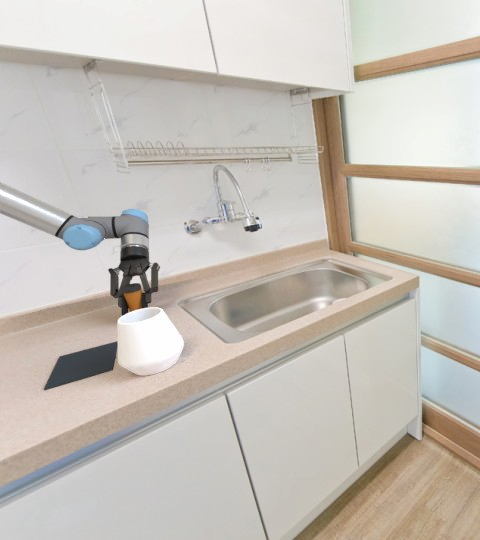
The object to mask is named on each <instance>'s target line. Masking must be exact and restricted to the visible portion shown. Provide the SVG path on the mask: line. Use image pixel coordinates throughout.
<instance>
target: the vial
mask: <svg viewBox="0 0 480 540" xmlns="http://www.w3.org/2000/svg"><path fill="white" fill-rule="evenodd" d="M121 290H122V293H124V296H125V299H126V302H127V305H128V311H129V312H132V311H135V310H139V309H142V293H143V290H142V284H141V283H140V282H134V283H130V284H128V285H125V286H123V287H121Z"/></svg>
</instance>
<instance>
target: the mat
mask: <svg viewBox="0 0 480 540" xmlns="http://www.w3.org/2000/svg"><path fill="white" fill-rule="evenodd" d="M117 351H118V340H117V341H113V342H108V343H104V344H102V345H98V346H97V345H96V346H93V347H90V348H86V349H82V350H79V351H75V352H71V353H67V354H64V355H60V356H58V358H57V361H56V363H55V365H54V366H53V369H52V371H51V373H50V375H49V378H48V379H47V381H46V383H45V385H44V388H43V390H44V391H47V390H50V389H54V388H57V387H60V386H64V385H67V384H71V383H73V382H77V381H82V380H84V379H87V378H90V377H93V376H97V375H101V374H105V373H108V372H111V371H113V370H114V365H115V360H116V356H117Z"/></svg>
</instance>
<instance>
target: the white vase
mask: <svg viewBox="0 0 480 540" xmlns="http://www.w3.org/2000/svg"><path fill="white" fill-rule="evenodd" d="M116 324H117V325H116V326H117V327H116V328H117V329H116V330H117V332H116V333H117V341H118V345H117V363H118V364H119V366H120V367H122V368H124V369H125V370H127V371H129V372H131V373H133V374H135V375H137V376H139V377H140V376H141V377H143V376H144V377H146V376H151V375H153V376H154V375H156V374H159V373H162V372H164V371H166V370H168V369H170V368H172V367H174V365H175V364H177V362H178V361H179V359H180V357H181V354H182V352H183V349H184V347H185V341H184V338H183V335H182V334H180V332H179V330H178V329H177V328H176V326H175V325H174V323H173V322H172V321H171V319H170V318H169V316H168V315H167V313H166V312H165V310H164V309H163V308H161V307H157V306H150V307H148V308H143V309H139V310H135V311H132V312H130V311H128V313H127V314H125V315H123V316H122V315H121V316H120V317H119V318H118V319H117V323H116Z"/></svg>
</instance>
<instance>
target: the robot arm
mask: <svg viewBox="0 0 480 540" xmlns="http://www.w3.org/2000/svg"><path fill="white" fill-rule="evenodd" d="M121 213H122V214H121ZM121 213H120V215H116V216H88V218H78V217H79V216H75V215H73V214H71V213H69V212H67V211H65V210H62V209H60V208H58V207H56V206H53V204H52V205H51V204H50V203H48V202H45V201H43V200H41V199H39V198H36V197H34V196H32V195H29V194H28V193H25V192H23V191H21V190H19V189H17V188H15V187H12V186H10V185H8V184H6V183H4V182H1V181H0V215H2V216H5V217H7V218H9V219H12V220H14V221H17V222H19V223H22V224H24V225H26V226H28V227H31V228H34V229H36V230H39V231H41V232H44V233H46V234H49V235H51V236H53V237H55V238H58V239H60V240H63V243H64V244H65V245H66V246H68V247H69V248H70V249H73V250H76V251H89V250H92V249H94V248H96V247H97V246H99V245H100V244H101V242H103V241H104V240H111V239H120V246H119V248H120V251H119V257H120V258H119V261H120V263H119V264H118V266H117V267H115V268H113V267H109V268H108V269H107V270H108V273H109V275H110V280H109V281H110V282H109V284H110V289H109V290H110V291H109V294H110V296H111V297H113V298H114V299H117V306H118V307H119V308H120V309H121V313H120V314H121V317H122V316H123V315H125V314H127V313H129V308H128V305H127V302H126V299H125V296H124V293H122V290H121V287H123V286H125V285H128V284H131V281H132V280H133V278H134V277H136V276H137V277H139V279H140V282H141V286H142V288H143V292H142V309H143V308H149V304H152V295H153V293H157V292H159V271H160V269H161V266H160V265H159V263H158V262H153V263H152V262H150V251H149V250H150V225H149V216H148V214H147V212H145V211H143V210H141V209H137V208H127V209H124V210H122V211H121ZM104 238H105V239H104ZM149 269H150V282H149V281H148V278H147V277H148V276H147V273H146V272H147V271H148V270H149ZM120 272H122V279H121V282H120V278H119V277H120V276H119V275H120Z"/></svg>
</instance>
